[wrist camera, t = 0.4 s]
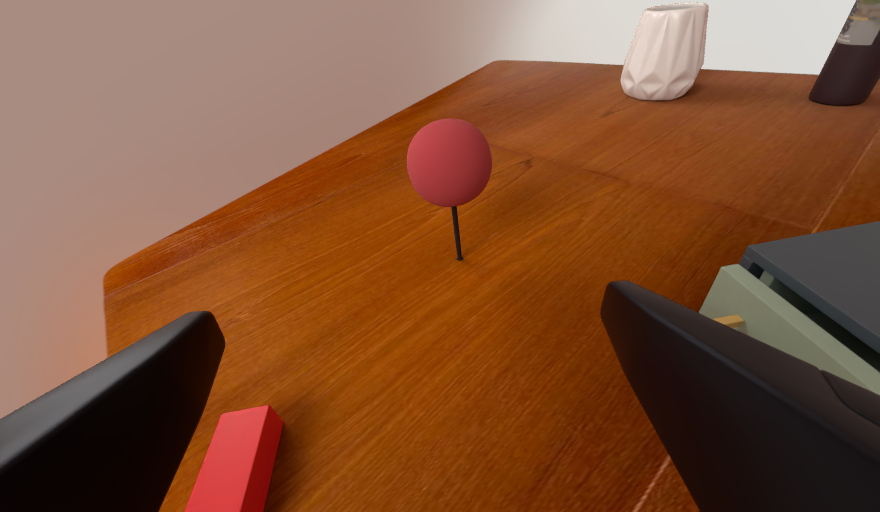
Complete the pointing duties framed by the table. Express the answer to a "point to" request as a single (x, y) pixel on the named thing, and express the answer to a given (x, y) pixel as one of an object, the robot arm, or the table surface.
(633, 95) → the vase
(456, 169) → the lollipop
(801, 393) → the robot arm
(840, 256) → the cabinet
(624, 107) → the table surface
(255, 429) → the red rectangular block
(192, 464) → the table surface
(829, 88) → the wine bottle
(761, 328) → the drawer
